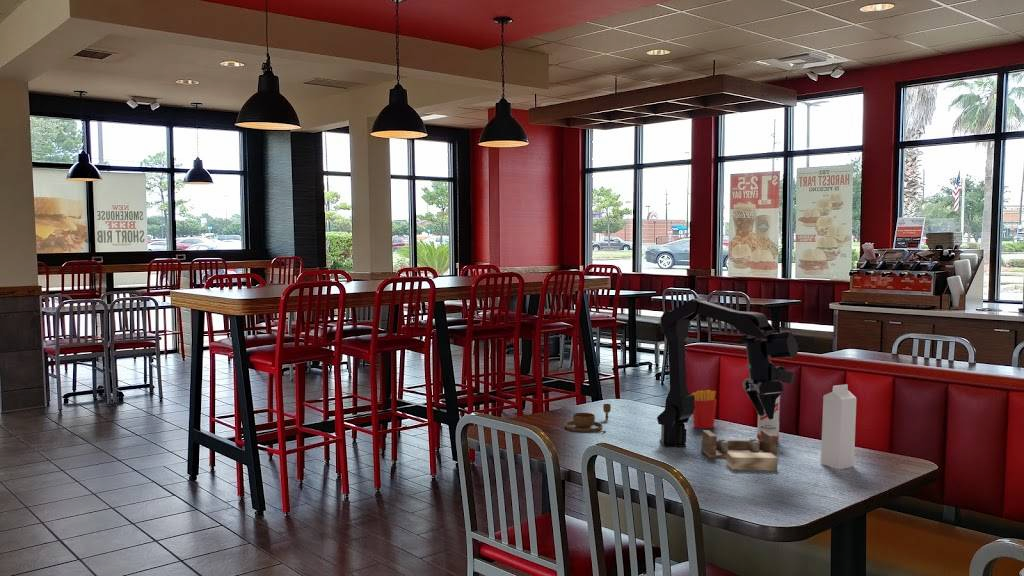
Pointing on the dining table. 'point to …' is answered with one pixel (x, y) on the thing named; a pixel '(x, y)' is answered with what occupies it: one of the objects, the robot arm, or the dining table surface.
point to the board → (752, 461)
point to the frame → (737, 445)
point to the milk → (838, 428)
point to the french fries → (704, 409)
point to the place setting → (587, 421)
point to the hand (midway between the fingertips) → (766, 417)
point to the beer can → (770, 422)
